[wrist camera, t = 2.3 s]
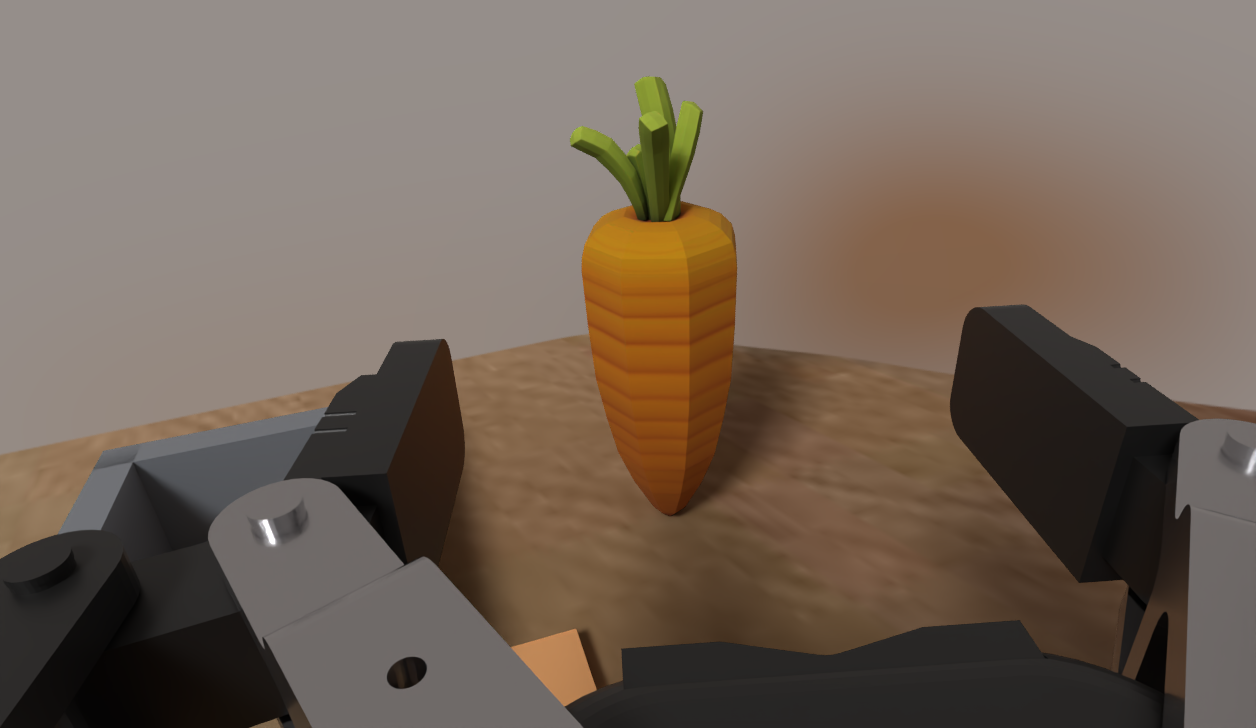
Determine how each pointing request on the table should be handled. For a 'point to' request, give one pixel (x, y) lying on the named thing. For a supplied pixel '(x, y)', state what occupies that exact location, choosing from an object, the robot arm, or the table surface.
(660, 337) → the carrot
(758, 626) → the table surface
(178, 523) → the socket block
